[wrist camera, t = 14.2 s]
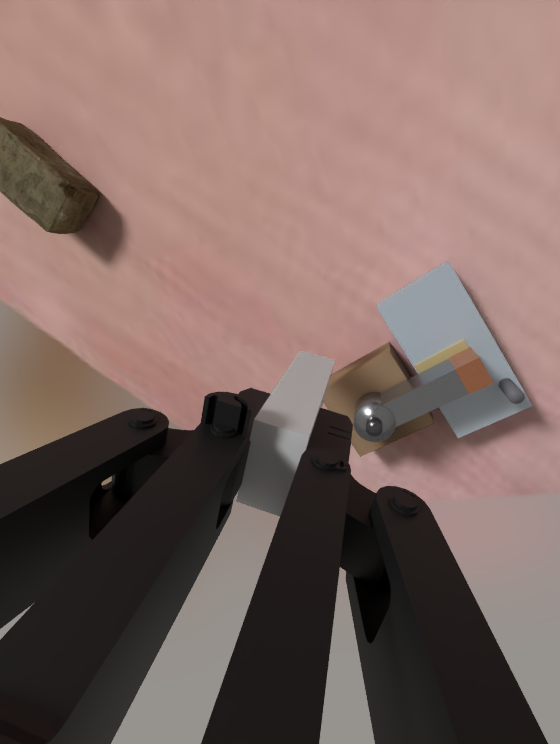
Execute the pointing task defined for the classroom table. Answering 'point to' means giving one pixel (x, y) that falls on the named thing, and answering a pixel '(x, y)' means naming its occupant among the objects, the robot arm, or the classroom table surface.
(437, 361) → the grey block with peg
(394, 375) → the block
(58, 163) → the stone block
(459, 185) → the classroom table surface
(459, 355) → the latch bar
